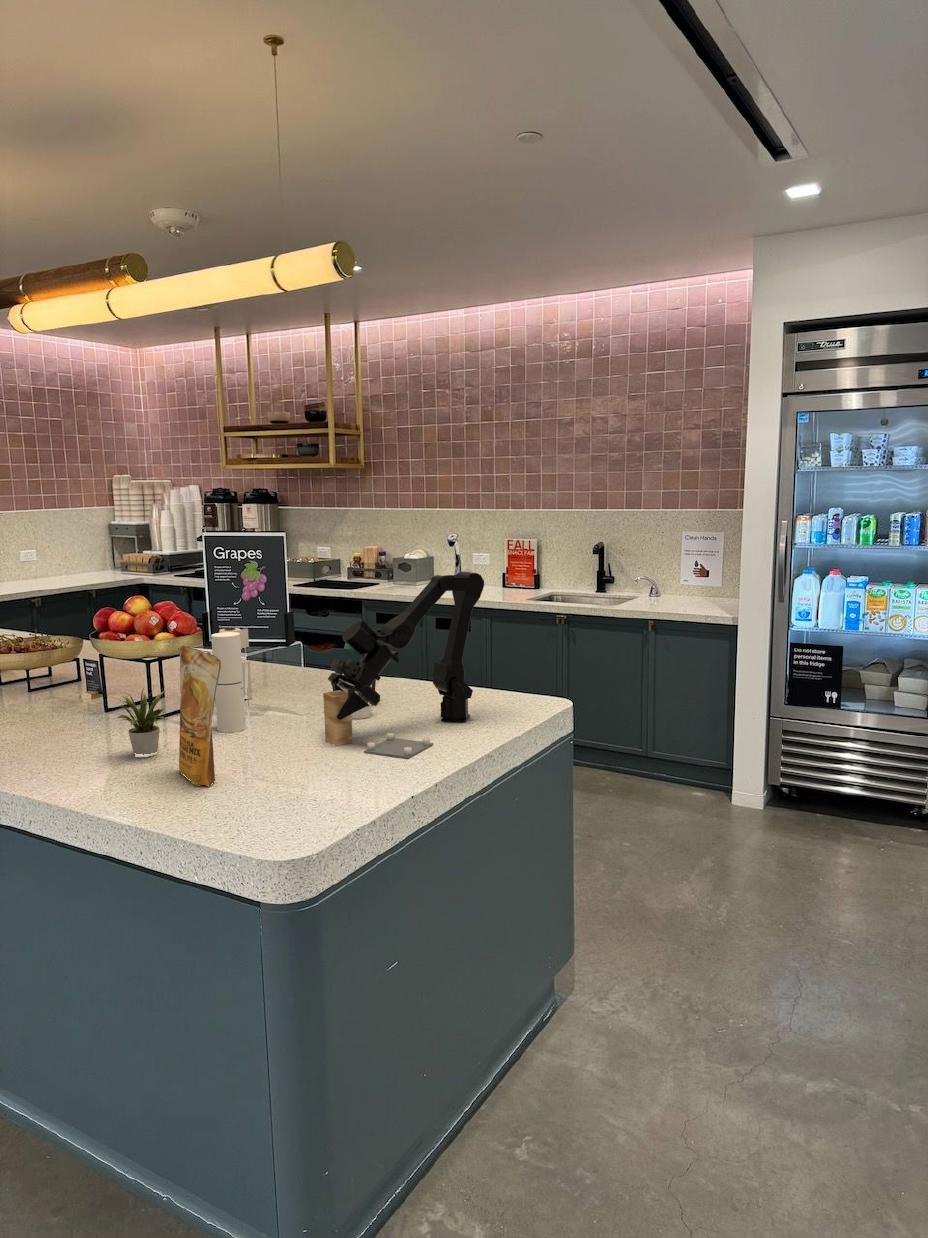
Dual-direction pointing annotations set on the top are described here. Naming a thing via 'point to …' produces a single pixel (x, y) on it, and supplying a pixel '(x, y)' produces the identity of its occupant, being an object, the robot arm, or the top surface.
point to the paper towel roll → (244, 644)
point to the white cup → (362, 712)
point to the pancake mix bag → (197, 714)
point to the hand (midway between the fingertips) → (332, 716)
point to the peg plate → (398, 747)
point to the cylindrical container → (229, 682)
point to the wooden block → (336, 719)
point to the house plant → (143, 725)
